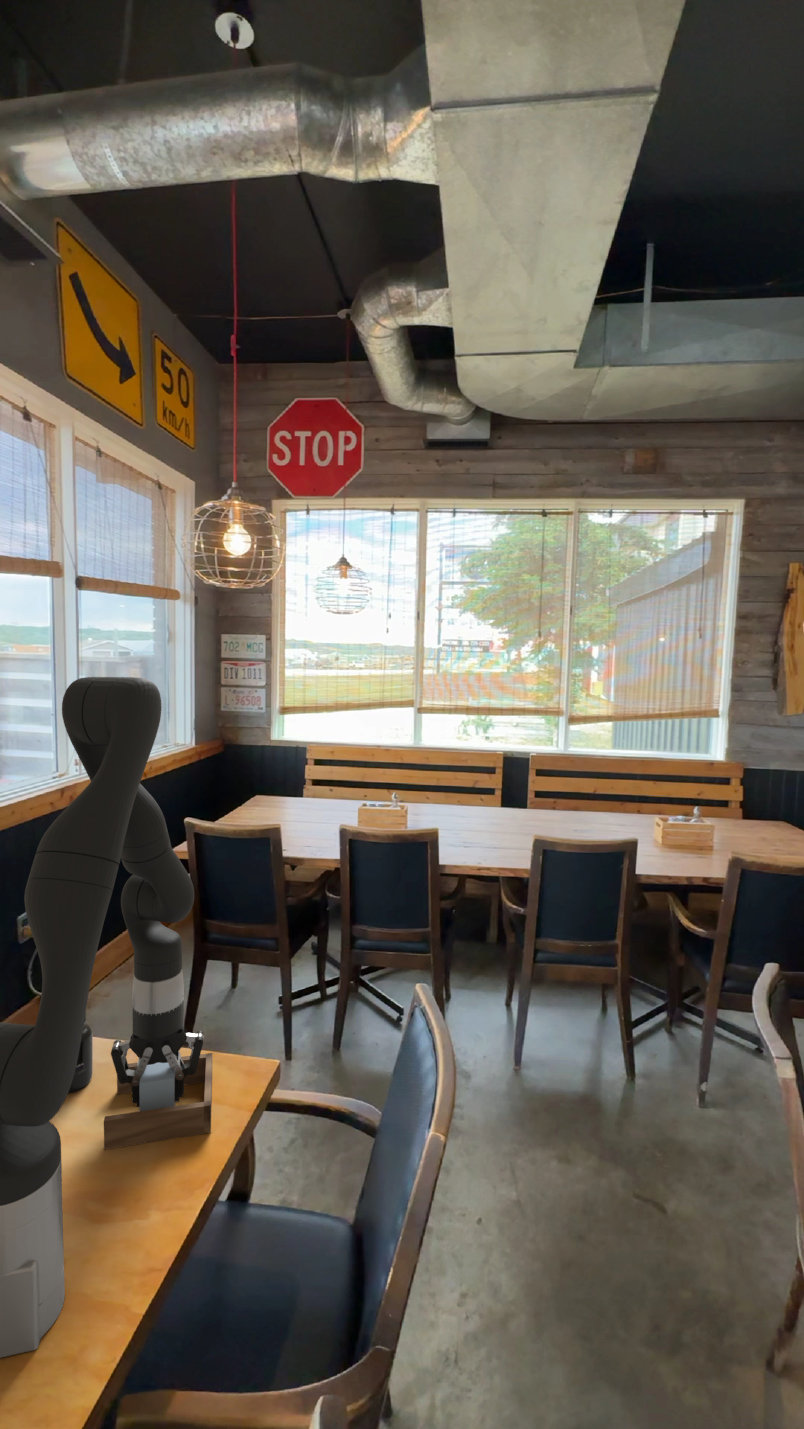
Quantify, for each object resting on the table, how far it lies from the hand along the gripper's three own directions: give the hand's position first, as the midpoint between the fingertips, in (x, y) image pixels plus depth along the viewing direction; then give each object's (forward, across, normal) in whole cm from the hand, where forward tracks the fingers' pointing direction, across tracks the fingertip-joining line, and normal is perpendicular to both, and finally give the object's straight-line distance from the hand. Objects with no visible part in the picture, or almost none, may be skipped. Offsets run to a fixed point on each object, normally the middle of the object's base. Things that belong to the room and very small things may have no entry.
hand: (158, 1100), depth 103 cm
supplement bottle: (+2, -15, +11) cm, 19 cm away
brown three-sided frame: (+2, 0, 0) cm, 2 cm away
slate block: (+1, 0, 0) cm, 1 cm away
